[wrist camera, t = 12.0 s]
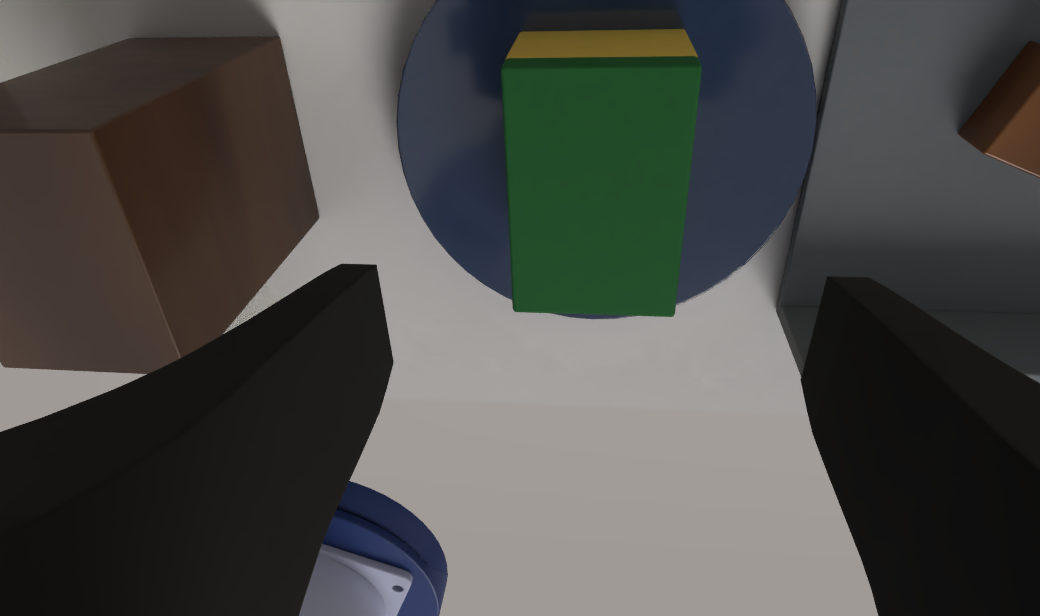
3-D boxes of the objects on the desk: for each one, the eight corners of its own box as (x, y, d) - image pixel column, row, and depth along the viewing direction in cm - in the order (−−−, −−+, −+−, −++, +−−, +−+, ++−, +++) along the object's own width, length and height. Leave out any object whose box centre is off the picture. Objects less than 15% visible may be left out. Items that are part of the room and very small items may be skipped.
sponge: (526, 247, 20) (512, 313, 17) (519, 31, 16) (500, 66, 13) (664, 250, 19) (674, 318, 16) (685, 28, 16) (703, 64, 13)
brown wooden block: (188, 216, 22) (2, 368, 15) (128, 38, 19) (-139, 130, 12) (320, 218, 21) (188, 377, 14) (280, 35, 18) (90, 130, 11)
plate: (429, 294, 22) (420, 313, 21) (380, -85, 16) (365, -82, 15) (767, 304, 21) (775, 326, 20) (849, -101, 15) (867, -100, 14)
